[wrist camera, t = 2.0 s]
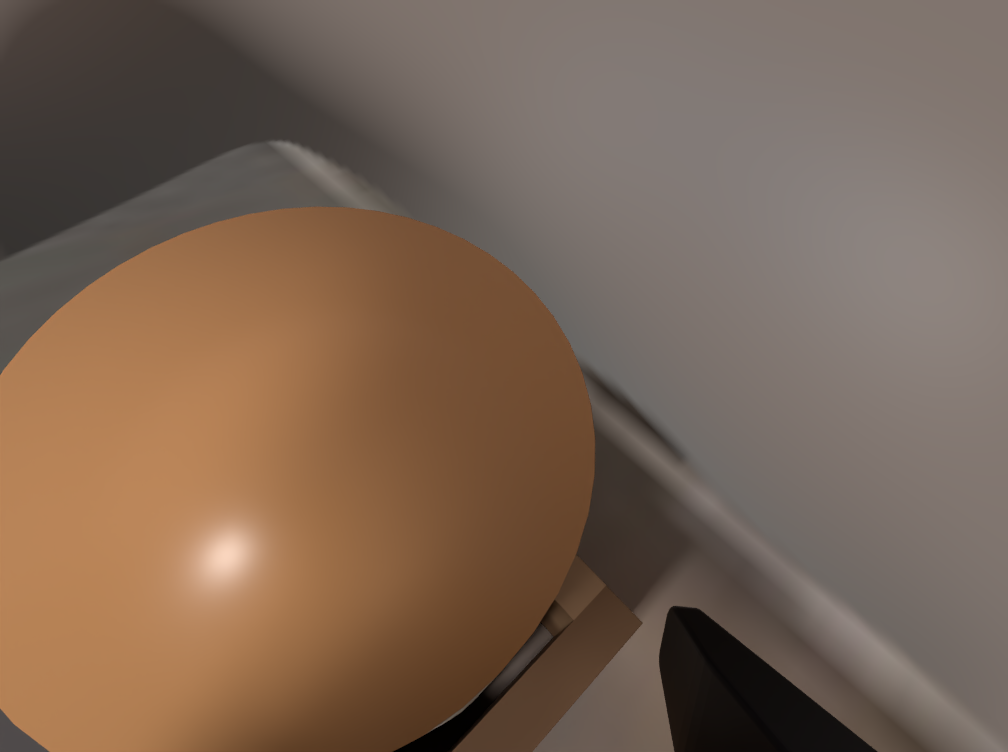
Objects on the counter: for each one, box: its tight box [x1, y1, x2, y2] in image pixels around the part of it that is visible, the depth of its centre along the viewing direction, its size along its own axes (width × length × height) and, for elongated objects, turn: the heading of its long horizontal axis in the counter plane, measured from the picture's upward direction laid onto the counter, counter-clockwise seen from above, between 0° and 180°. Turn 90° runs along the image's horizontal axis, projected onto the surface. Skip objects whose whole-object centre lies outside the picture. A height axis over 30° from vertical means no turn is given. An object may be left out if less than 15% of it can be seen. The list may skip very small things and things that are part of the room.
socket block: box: [447, 554, 642, 752], centre depth 15 cm, size 8×8×4 cm
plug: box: [0, 207, 595, 752], centre depth 11 cm, size 5×5×14 cm
